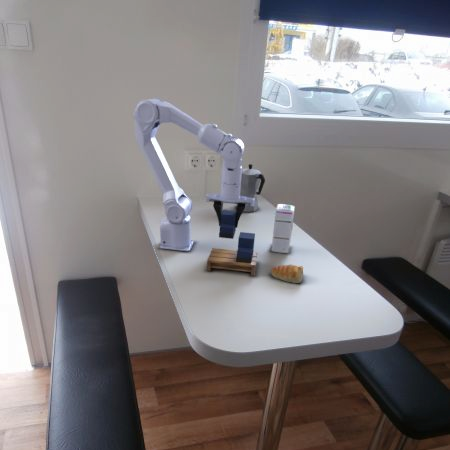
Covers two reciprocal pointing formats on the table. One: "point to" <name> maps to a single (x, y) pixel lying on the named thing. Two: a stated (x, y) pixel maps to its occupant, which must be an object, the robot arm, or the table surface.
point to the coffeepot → (251, 186)
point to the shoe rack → (229, 261)
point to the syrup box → (283, 228)
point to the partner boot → (245, 247)
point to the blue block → (227, 224)
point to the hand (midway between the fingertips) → (228, 225)
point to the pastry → (288, 273)
